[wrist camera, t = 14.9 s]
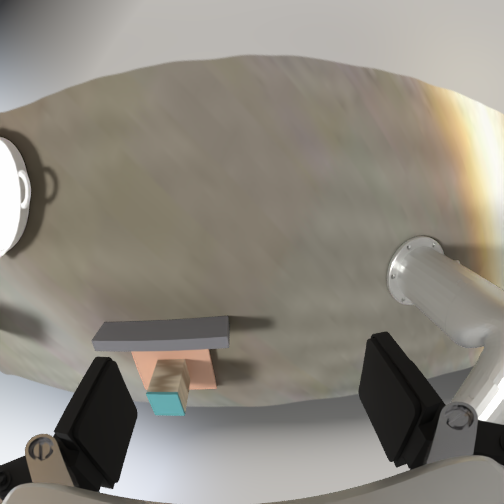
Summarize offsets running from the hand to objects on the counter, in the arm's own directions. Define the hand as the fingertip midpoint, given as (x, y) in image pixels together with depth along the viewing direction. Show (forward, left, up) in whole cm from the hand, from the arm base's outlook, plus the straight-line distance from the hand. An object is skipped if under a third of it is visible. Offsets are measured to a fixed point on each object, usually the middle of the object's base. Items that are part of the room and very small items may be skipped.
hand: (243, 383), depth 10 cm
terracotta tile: (+14, +26, -33) cm, 45 cm away
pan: (+45, -10, -34) cm, 57 cm away
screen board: (+14, +17, -33) cm, 40 cm away
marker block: (+14, +26, -32) cm, 44 cm away
